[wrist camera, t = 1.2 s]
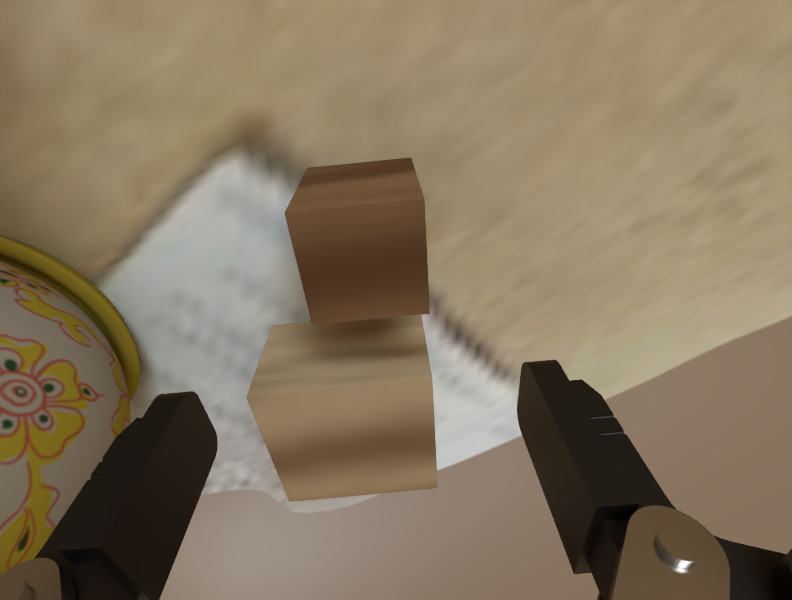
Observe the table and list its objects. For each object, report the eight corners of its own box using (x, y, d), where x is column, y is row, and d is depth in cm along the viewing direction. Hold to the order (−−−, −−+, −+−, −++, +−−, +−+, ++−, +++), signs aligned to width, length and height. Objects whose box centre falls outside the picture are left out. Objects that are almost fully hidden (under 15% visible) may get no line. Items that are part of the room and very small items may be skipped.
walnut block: (307, 167, 19) (284, 213, 14) (410, 157, 19) (424, 199, 14) (326, 259, 22) (312, 324, 17) (416, 251, 22) (429, 313, 17)
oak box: (272, 323, 24) (246, 396, 19) (420, 309, 24) (432, 379, 19) (304, 422, 29) (289, 501, 24) (426, 410, 29) (437, 487, 24)
